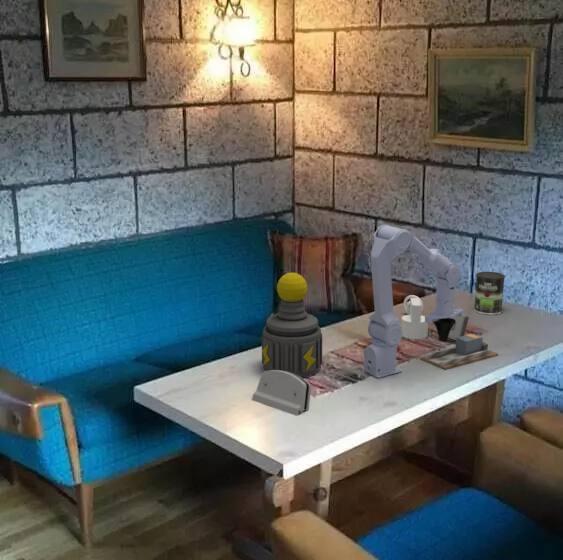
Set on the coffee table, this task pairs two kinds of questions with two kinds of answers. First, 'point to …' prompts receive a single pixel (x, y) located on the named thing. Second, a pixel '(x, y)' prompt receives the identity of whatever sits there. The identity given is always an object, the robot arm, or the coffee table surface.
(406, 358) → the coffee table surface
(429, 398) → the coffee table surface
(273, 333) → the grey tesla coil
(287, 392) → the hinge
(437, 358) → the din rail board
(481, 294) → the coffee can
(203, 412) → the coffee table surface
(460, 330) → the electrical switch
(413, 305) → the cylinder with rectangular tab
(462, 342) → the block
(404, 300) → the ring around a ball
